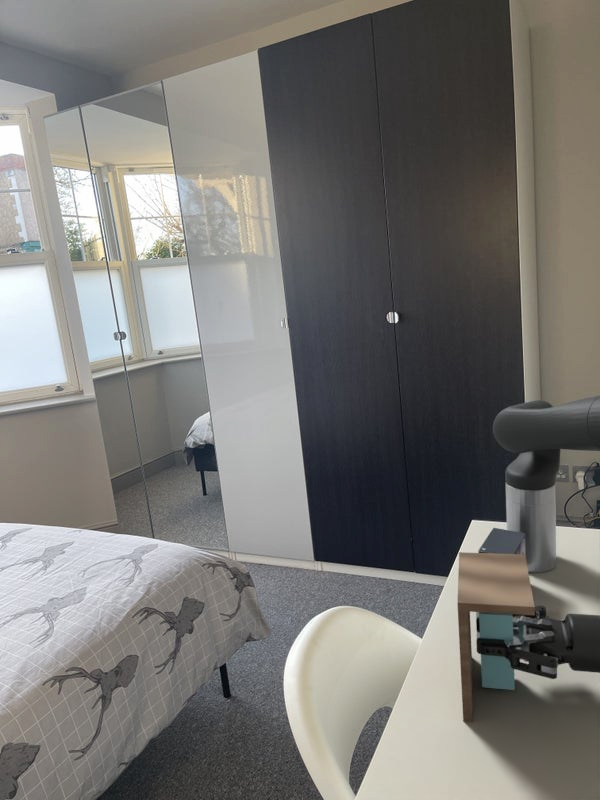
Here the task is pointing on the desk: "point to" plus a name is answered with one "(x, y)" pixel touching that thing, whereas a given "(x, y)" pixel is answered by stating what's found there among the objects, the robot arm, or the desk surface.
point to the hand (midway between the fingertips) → (477, 635)
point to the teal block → (496, 667)
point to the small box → (504, 542)
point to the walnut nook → (488, 601)
